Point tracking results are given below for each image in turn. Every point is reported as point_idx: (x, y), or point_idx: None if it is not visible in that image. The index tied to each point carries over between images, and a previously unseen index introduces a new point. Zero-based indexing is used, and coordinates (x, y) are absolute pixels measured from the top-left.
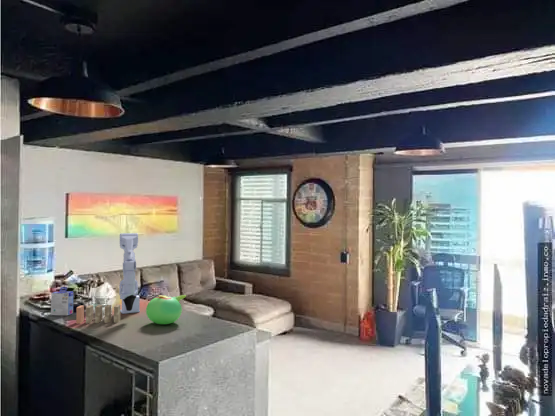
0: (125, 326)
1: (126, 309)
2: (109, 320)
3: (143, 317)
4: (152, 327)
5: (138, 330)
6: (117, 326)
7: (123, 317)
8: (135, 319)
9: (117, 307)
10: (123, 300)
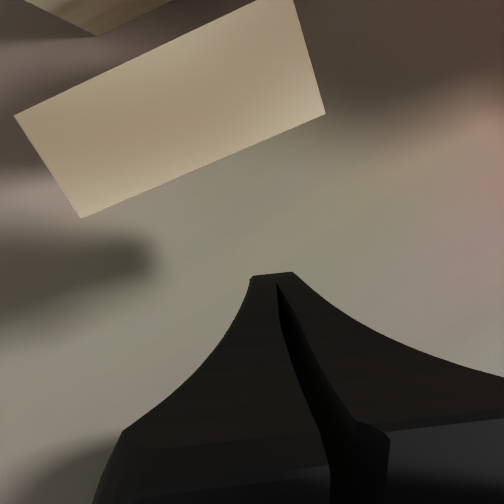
0: (70, 323)
1: (252, 280)
2: (129, 13)
3: (415, 294)
4: None
5: (34, 462)
6: (28, 254)
7: (395, 67)
8: (328, 265)
9: (80, 201)
10: (162, 407)
